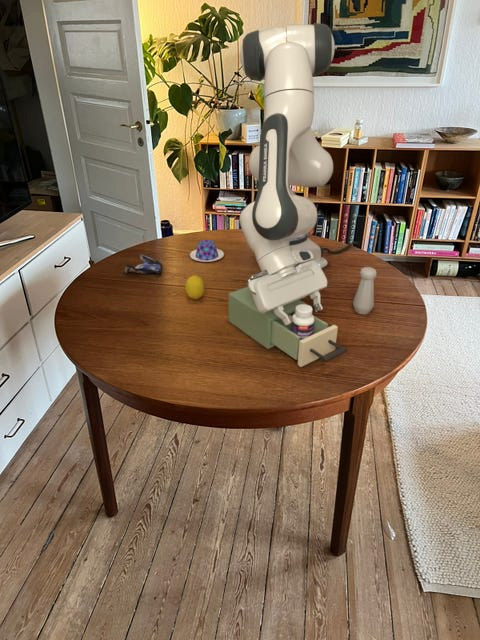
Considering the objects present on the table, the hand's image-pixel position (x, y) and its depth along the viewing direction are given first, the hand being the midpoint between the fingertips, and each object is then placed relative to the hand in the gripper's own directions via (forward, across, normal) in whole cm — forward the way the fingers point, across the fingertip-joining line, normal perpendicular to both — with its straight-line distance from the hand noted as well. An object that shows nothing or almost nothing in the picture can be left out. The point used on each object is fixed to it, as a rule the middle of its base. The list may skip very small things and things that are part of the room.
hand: (304, 317), depth 110 cm
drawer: (+7, 0, +6) cm, 9 cm away
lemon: (-20, -7, +34) cm, 40 cm away
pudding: (-37, +13, +51) cm, 64 cm away
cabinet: (-3, 0, +16) cm, 17 cm away
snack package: (-38, -10, +52) cm, 65 cm away
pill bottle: (+5, 0, +6) cm, 8 cm away
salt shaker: (+4, +27, +10) cm, 29 cm away
